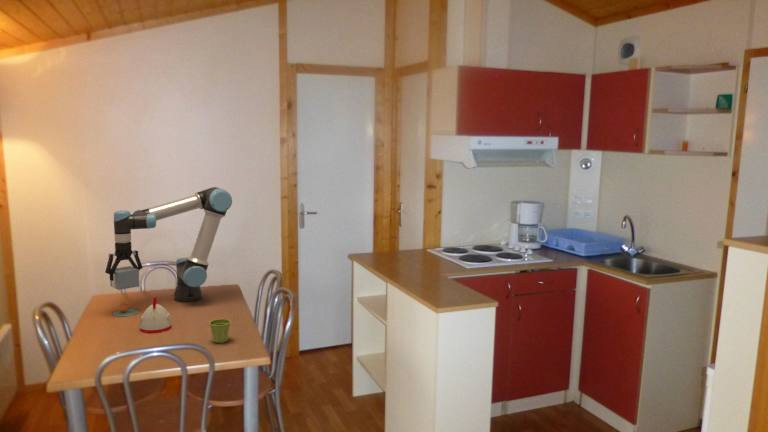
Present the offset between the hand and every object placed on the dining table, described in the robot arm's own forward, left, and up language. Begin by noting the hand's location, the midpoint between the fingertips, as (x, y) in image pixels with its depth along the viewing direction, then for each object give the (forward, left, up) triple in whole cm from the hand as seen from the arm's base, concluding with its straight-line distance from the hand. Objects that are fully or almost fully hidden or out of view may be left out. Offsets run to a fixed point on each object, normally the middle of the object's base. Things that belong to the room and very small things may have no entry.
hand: (124, 284), depth 289 cm
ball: (+2, -1, -12) cm, 13 cm away
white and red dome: (-29, +16, -15) cm, 36 cm away
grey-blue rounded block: (0, 0, -1) cm, 1 cm away
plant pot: (-66, +22, -15) cm, 71 cm away
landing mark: (0, 0, -15) cm, 15 cm away
